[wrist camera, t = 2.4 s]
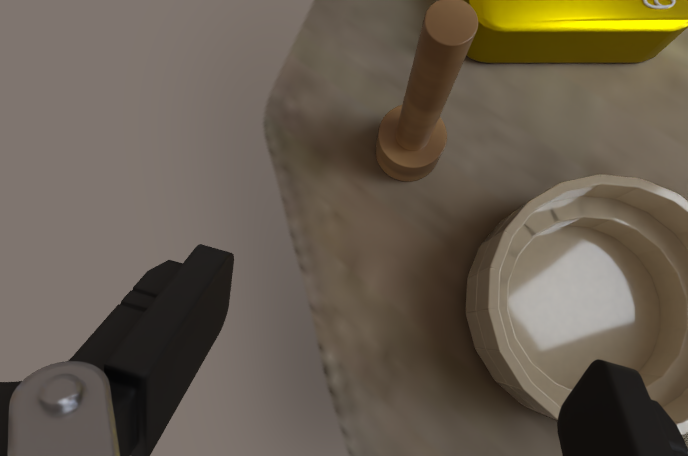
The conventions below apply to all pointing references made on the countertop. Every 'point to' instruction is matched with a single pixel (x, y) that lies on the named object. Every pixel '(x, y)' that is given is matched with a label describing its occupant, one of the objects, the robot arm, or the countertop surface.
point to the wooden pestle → (427, 93)
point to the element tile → (575, 30)
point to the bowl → (585, 292)
